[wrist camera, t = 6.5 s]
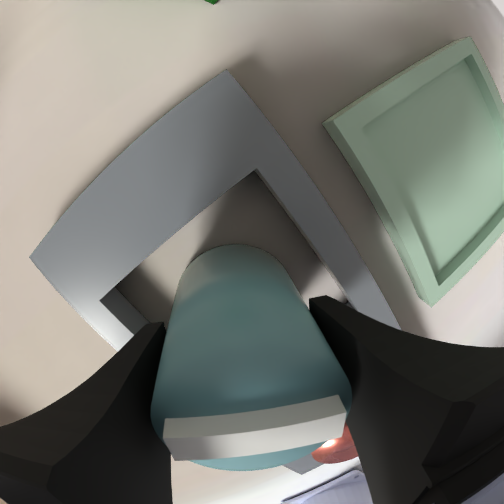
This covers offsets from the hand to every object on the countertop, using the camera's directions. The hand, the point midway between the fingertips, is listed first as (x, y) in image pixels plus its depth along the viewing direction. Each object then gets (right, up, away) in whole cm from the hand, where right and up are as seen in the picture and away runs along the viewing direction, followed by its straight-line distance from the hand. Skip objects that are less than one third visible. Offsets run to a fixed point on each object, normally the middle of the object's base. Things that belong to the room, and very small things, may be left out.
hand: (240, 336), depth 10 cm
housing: (+1, -1, +4) cm, 4 cm away
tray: (+10, +7, +2) cm, 12 cm away
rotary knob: (0, +1, +2) cm, 3 cm away
